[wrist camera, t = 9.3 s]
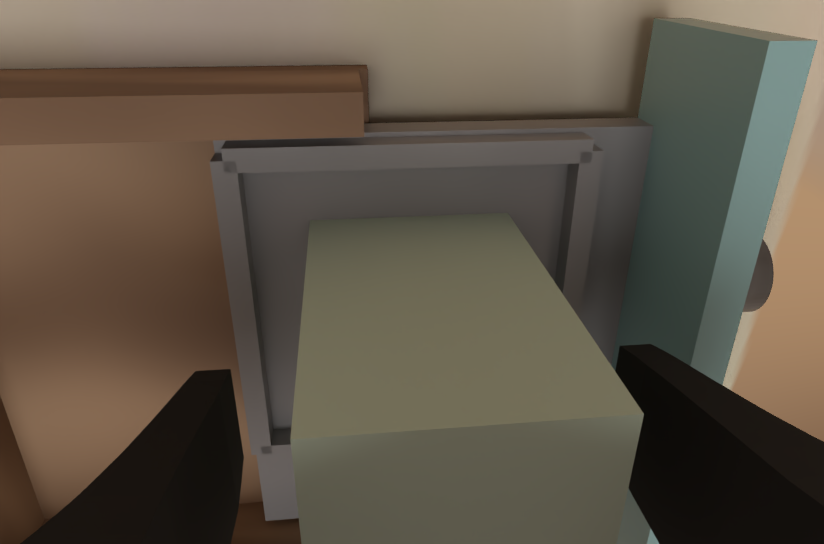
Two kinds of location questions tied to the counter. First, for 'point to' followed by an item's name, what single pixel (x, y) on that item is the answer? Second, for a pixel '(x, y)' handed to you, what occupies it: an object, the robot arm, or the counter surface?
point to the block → (451, 392)
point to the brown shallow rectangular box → (127, 260)
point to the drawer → (538, 214)
